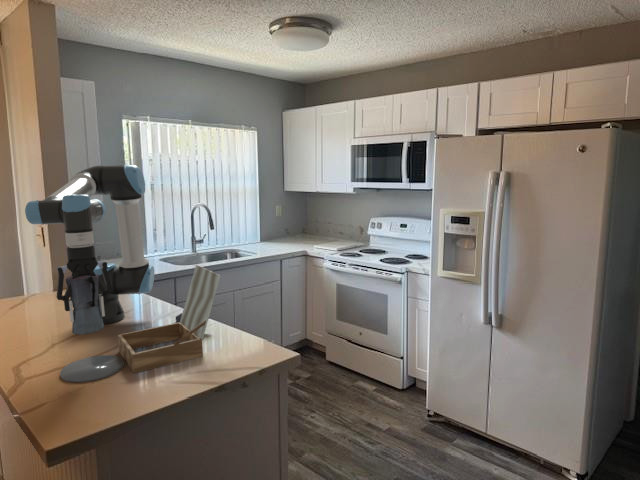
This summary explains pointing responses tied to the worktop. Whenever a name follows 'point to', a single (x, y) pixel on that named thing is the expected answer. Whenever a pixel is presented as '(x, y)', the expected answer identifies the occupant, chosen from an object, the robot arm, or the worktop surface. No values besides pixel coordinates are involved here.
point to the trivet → (91, 368)
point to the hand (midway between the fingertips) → (87, 317)
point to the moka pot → (85, 304)
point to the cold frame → (174, 329)
